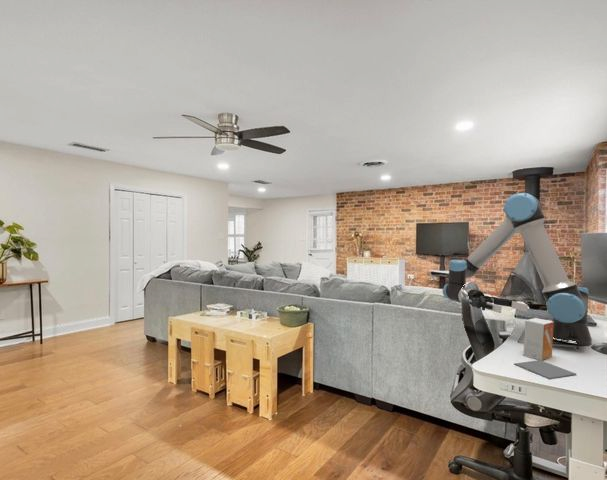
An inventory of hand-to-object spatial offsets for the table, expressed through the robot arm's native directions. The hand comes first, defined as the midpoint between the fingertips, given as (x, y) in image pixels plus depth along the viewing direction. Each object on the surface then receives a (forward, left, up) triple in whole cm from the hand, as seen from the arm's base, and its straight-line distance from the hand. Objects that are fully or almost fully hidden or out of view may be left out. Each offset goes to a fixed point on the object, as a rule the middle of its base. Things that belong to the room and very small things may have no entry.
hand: (514, 308), depth 137 cm
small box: (0, +10, -15) cm, 18 cm away
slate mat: (+10, +20, -15) cm, 27 cm away
